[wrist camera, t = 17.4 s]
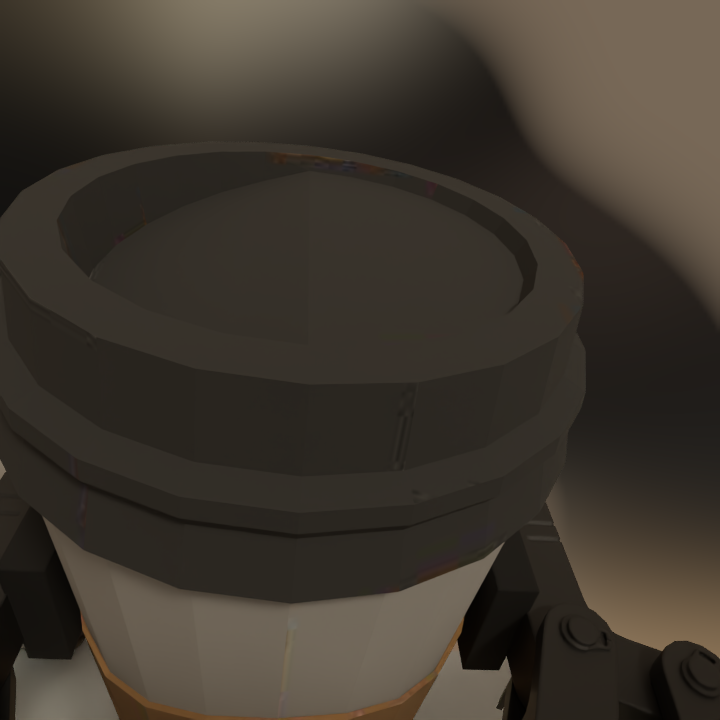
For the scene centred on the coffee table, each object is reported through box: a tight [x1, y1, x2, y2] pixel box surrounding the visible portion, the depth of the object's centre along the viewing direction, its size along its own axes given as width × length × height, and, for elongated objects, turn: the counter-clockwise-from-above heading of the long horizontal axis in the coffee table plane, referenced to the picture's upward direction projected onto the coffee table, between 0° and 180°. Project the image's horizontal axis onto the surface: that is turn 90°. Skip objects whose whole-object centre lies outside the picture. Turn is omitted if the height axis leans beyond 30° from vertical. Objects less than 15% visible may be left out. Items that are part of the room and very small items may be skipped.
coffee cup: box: [0, 142, 586, 720], centre depth 12 cm, size 8×8×15 cm
